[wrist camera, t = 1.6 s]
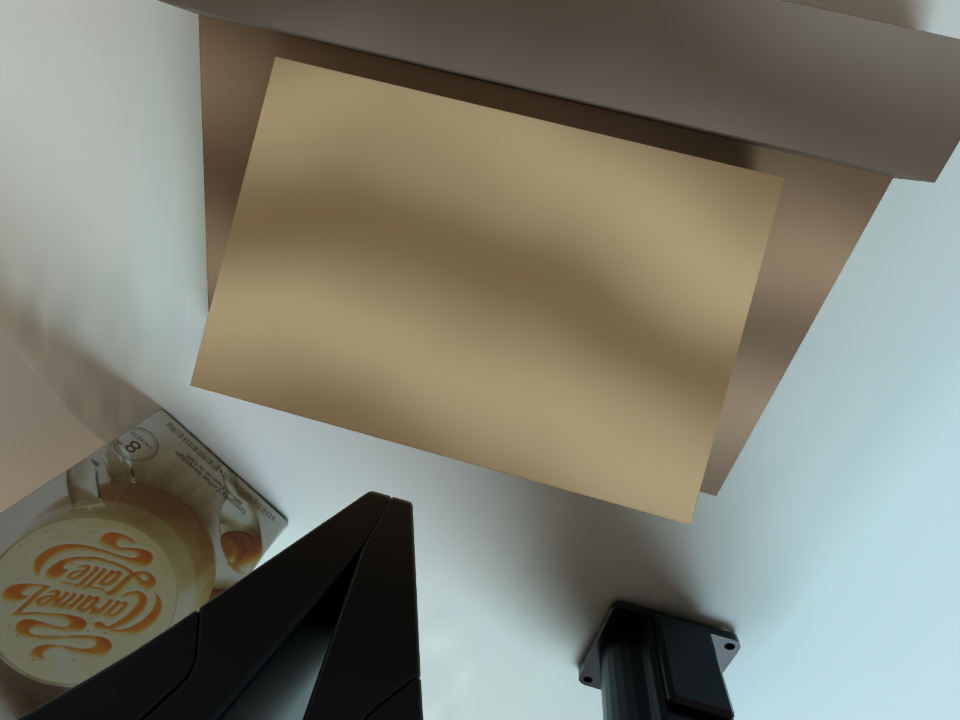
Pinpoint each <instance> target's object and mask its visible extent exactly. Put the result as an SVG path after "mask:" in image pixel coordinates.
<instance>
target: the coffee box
mask: <svg viewBox="0 0 960 720" xmlns="http://www.w3.org/2000/svg"><path fill="white" fill-rule="evenodd" d="M287 527H288V523H287V521H286V520H285V519H284V518H283V517H282V516H281V515H279V514H278V513H277V512H276V511H275V510H274V509H273V508H272V507H271V506H270V505H268V504H267V503H266V502H265V501H264V500H263V499H262V498H261V497H260V496H258V495H257V494H256V493H255V492H254V491H253V490H252V489H251V488H250V487H248V486H247V485H246V484H245V483H244V482H243V481H242V480H241V479H239V478H238V477H237V476H236V475H235V474H234V473H233V472H232V471H230V470H229V469H228V468H227V467H226V466H225V465H224V464H223V463H222V462H220V461H219V460H218V459H217V458H216V457H215V456H214V455H213V454H212V453H211V452H209V451H208V450H207V449H206V448H205V447H204V446H203V445H202V444H201V443H200V442H198V441H197V440H196V439H195V438H194V437H193V436H192V435H191V434H189V433H188V432H187V431H186V430H185V429H184V428H183V427H182V426H181V425H179V424H178V423H177V422H176V421H175V420H174V419H173V418H172V417H170V416H169V415H168V414H167V413H166V412H164V411H163V410H159V411H157V412H155V413H154V414H153V415H151V416H150V417H148V418H147V419H145V420H143V421H142V422H140V423H139V424H137V425H136V426H134V427H133V428H131V429H130V430H128V431H127V432H125V433H124V434H122V435H121V436H119V437H118V438H116V439H114V440H113V441H111V442H110V443H108V444H106V445H105V446H103V447H102V448H100V449H99V450H97V451H95V452H94V453H92V454H91V455H89V456H88V457H86V458H85V459H83V460H82V461H80V462H79V463H77V464H76V465H74V466H72V467H71V468H69V469H68V470H66V471H65V472H63V473H61V474H60V475H58V476H57V477H55V478H54V479H52V480H50V481H49V482H47V483H46V484H44V485H43V486H41V487H40V488H38V489H37V490H35V491H33V492H32V493H30V494H29V495H28V496H26V497H24V498H23V499H21V500H20V501H18V502H17V503H15V504H14V505H12V506H11V507H9V508H7V509H6V510H4V511H3V512H1V513H0V720H17V719H18V718H20V717H22V716H24V715H25V714H27V713H29V712H31V711H32V710H34V709H36V708H38V707H39V706H41V705H43V704H45V703H46V702H48V701H50V700H52V699H53V698H55V697H57V696H59V695H60V694H62V693H64V692H66V691H67V690H69V689H71V688H73V687H74V686H76V685H78V684H79V683H81V682H83V681H85V680H86V679H88V678H90V677H91V676H93V675H95V674H96V673H98V672H100V671H101V670H103V669H105V668H106V667H108V666H110V665H112V664H113V663H115V662H117V661H118V660H120V659H122V658H123V657H125V656H127V655H128V654H130V653H132V652H133V651H135V650H136V649H138V648H139V647H141V646H142V645H144V644H145V643H147V642H148V641H150V640H152V639H153V638H155V637H156V636H158V635H159V634H161V633H162V632H164V631H165V630H167V629H168V628H170V627H171V626H173V625H174V624H176V623H177V622H179V621H180V620H182V619H183V618H185V617H186V616H188V615H189V614H190V613H192V612H193V611H198V612H199V609H200V607H201V606H203V605H204V604H205V603H207V602H208V601H210V600H211V599H213V598H214V597H216V596H217V595H219V594H220V593H222V592H223V591H224V590H226V589H227V588H229V587H230V586H232V585H233V584H235V583H236V582H238V581H239V580H241V579H242V578H243V577H245V576H246V575H248V574H249V573H251V572H252V571H253V569H254V568H255V567H256V565H257V564H258V562H259V561H260V560H261V558H262V557H263V556H264V554H265V553H266V552H267V550H268V549H269V548H270V546H271V545H272V544H273V543H274V541H275V540H276V539H277V538H278V536H279V535H280V534H281V533H282V532H283V531H284V530H285V529H286V528H287Z"/></svg>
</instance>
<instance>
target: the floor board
mask: <svg viewBox="0 0 960 720" xmlns="http://www.w3.org/2000/svg"><path fill="white" fill-rule="evenodd" d="M159 1H162V2H164V3H167V4H170V5H173V6H176V7H179V8H182V9H185V10H188V11H190V12H193V13H196V14H199V39H200V68H201V98H202V128H203V158H204V187H205V217H206V247H207V277H208V306H209V311H210V307H211V303H212V299H213V295H214V291H215V288H216V284H217V280H218V276H219V272H220V268H221V264H222V261H223V257H224V253H225V249H226V245H227V241H228V237H229V234H230V230H231V226H232V222H233V218H234V214H235V211H236V207H237V203H238V199H239V195H240V191H241V187H242V184H243V180H244V176H245V172H246V168H247V164H248V160H249V157H250V153H251V149H252V145H253V141H254V137H255V134H256V130H257V126H258V122H259V118H260V114H261V110H262V107H263V103H264V99H265V95H266V91H267V87H268V83H269V80H270V76H271V72H272V68H273V64H274V60H275V57H279V58H283V59H287V60H291V61H296V62H300V63H304V64H308V65H312V66H317V67H321V68H325V69H329V70H333V71H338V72H342V73H346V74H350V75H354V76H359V77H363V78H367V79H371V80H375V81H380V82H384V83H388V84H392V85H396V86H401V87H405V88H409V89H413V90H417V91H422V92H426V93H430V94H434V95H438V96H443V97H447V98H451V99H455V100H459V101H464V102H468V103H472V104H476V105H480V106H485V107H489V108H493V109H497V110H501V111H506V112H510V113H514V114H518V115H522V116H527V117H531V118H535V119H539V120H543V121H548V122H552V123H556V124H560V125H564V126H569V127H573V128H577V129H581V130H585V131H590V132H594V133H598V134H602V135H606V136H611V137H615V138H619V139H623V140H627V141H632V142H636V143H640V144H644V145H648V146H652V147H657V148H661V149H665V150H669V151H673V152H678V153H682V154H686V155H690V156H694V157H699V158H703V159H707V160H711V161H715V162H720V163H724V164H728V165H732V166H736V167H741V168H745V169H749V170H753V171H757V172H762V173H766V174H770V175H774V176H778V177H783V178H785V179H784V183H783V186H782V190H781V194H780V197H779V201H778V205H777V208H776V212H775V216H774V219H773V223H772V227H771V230H770V234H769V238H768V241H767V245H766V249H765V252H764V256H763V260H762V263H761V267H760V271H759V274H758V278H757V282H756V286H755V289H754V293H753V297H752V300H751V304H750V308H749V311H748V315H747V319H746V322H745V326H744V330H743V333H742V337H741V341H740V344H739V348H738V352H737V355H736V359H735V363H734V366H733V370H732V374H731V377H730V381H729V385H728V388H727V392H726V396H725V399H724V403H723V407H722V410H721V414H720V418H719V421H718V425H717V429H716V432H715V436H714V440H713V443H712V447H711V451H710V455H709V458H708V462H707V466H706V469H705V473H704V477H703V480H702V484H701V488H700V492H704V493H708V494H711V495H715V496H716V495H717V494H718V492H719V490H720V488H721V486H722V485H723V483H724V481H725V479H726V477H727V476H728V474H729V472H730V470H731V468H732V467H733V465H734V463H735V461H736V459H737V458H738V456H739V454H740V452H741V450H742V449H743V447H744V445H745V443H746V441H747V440H748V438H749V436H750V434H751V432H752V431H753V429H754V427H755V425H756V423H757V422H758V420H759V418H760V416H761V414H762V413H763V411H764V409H765V407H766V405H767V404H768V402H769V400H770V398H771V396H772V395H773V393H774V391H775V389H776V387H777V386H778V384H779V382H780V380H781V378H782V377H783V375H784V373H785V371H786V369H787V368H788V366H789V364H790V362H791V361H792V359H793V357H794V355H795V353H796V352H797V350H798V348H799V346H800V344H801V343H802V341H803V339H804V337H805V335H806V334H807V332H808V330H809V328H810V326H811V325H812V323H813V321H814V319H815V317H816V316H817V314H818V312H819V310H820V308H821V307H822V305H823V303H824V301H825V299H826V298H827V296H828V294H829V292H830V290H831V289H832V287H833V285H834V283H835V281H836V280H837V278H838V276H839V274H840V272H841V271H842V269H843V267H844V265H845V263H846V262H847V260H848V258H849V256H850V254H851V253H852V251H853V249H854V247H855V245H856V244H857V242H858V240H859V238H860V236H861V235H862V233H863V231H864V229H865V227H866V226H867V224H868V222H869V220H870V218H871V217H872V215H873V213H874V211H875V209H876V208H877V206H878V204H879V202H880V200H881V199H882V197H883V195H884V193H885V192H886V190H887V188H888V186H889V184H890V183H891V181H892V179H893V178H899V179H908V180H917V181H926V182H935V181H936V180H937V178H938V176H939V175H940V173H941V171H942V170H943V168H944V166H945V164H946V163H947V161H948V159H949V158H950V156H951V154H952V153H953V151H954V149H955V148H956V146H957V144H958V143H959V141H960V39H956V38H952V37H947V36H943V35H938V34H934V33H929V32H924V31H920V30H915V29H911V28H906V27H902V26H897V25H892V24H888V23H883V22H879V21H874V20H870V19H865V18H860V17H856V16H851V15H847V14H842V13H838V12H833V11H829V10H824V9H819V8H815V7H810V6H806V5H801V4H797V3H792V2H787V1H783V0H159Z"/></svg>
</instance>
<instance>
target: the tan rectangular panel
mask: <svg viewBox="0 0 960 720" xmlns="http://www.w3.org/2000/svg"><path fill="white" fill-rule="evenodd" d="M784 179H785V178H783V177H778V176H774V175H770V174H766V173H762V172H757V171H753V170H749V169H745V168H741V167H736V166H732V165H728V164H724V163H720V162H715V161H711V160H707V159H703V158H699V157H694V156H690V155H686V154H682V153H678V152H673V151H669V150H665V149H661V148H657V147H652V146H648V145H644V144H640V143H636V142H632V141H627V140H623V139H619V138H615V137H611V136H606V135H602V134H598V133H594V132H590V131H585V130H581V129H577V128H573V127H569V126H564V125H560V124H556V123H552V122H548V121H543V120H539V119H535V118H531V117H527V116H522V115H518V114H514V113H510V112H506V111H501V110H497V109H493V108H489V107H485V106H480V105H476V104H472V103H468V102H464V101H459V100H455V99H451V98H447V97H443V96H438V95H434V94H430V93H426V92H422V91H417V90H413V89H409V88H405V87H401V86H396V85H392V84H388V83H384V82H380V81H375V80H371V79H367V78H363V77H359V76H354V75H350V74H346V73H342V72H338V71H333V70H329V69H325V68H321V67H317V66H312V65H308V64H304V63H300V62H296V61H291V60H287V59H283V58H279V57H275V60H274V64H273V68H272V72H271V76H270V80H269V83H268V87H267V91H266V95H265V99H264V103H263V107H262V110H261V114H260V118H259V122H258V126H257V130H256V134H255V137H254V141H253V145H252V149H251V153H250V157H249V160H248V164H247V168H246V172H245V176H244V180H243V184H242V187H241V191H240V195H239V199H238V203H237V207H236V211H235V214H234V218H233V222H232V226H231V230H230V234H229V237H228V241H227V245H226V249H225V253H224V257H223V261H222V264H221V268H220V272H219V276H218V280H217V284H216V288H215V291H214V295H213V299H212V303H211V307H210V311H209V315H208V318H207V322H206V326H205V330H204V334H203V338H202V341H201V345H200V349H199V353H198V357H197V361H196V365H195V368H194V372H193V376H192V380H191V384H190V385H191V386H195V387H198V388H202V389H205V390H209V391H213V392H216V393H220V394H223V395H227V396H230V397H234V398H238V399H241V400H245V401H248V402H252V403H256V404H259V405H263V406H266V407H270V408H273V409H277V410H281V411H284V412H288V413H291V414H295V415H299V416H302V417H306V418H309V419H313V420H317V421H320V422H324V423H327V424H331V425H334V426H338V427H342V428H345V429H349V430H352V431H356V432H360V433H363V434H367V435H370V436H374V437H377V438H381V439H385V440H388V441H392V442H395V443H399V444H403V445H406V446H410V447H413V448H417V449H421V450H424V451H428V452H431V453H435V454H438V455H442V456H446V457H449V458H453V459H456V460H460V461H464V462H467V463H471V464H474V465H478V466H482V467H485V468H489V469H492V470H496V471H499V472H503V473H507V474H510V475H514V476H517V477H521V478H525V479H528V480H532V481H535V482H539V483H542V484H546V485H550V486H553V487H557V488H560V489H564V490H568V491H571V492H575V493H578V494H582V495H586V496H589V497H593V498H596V499H600V500H603V501H607V502H611V503H614V504H618V505H621V506H625V507H629V508H632V509H636V510H639V511H643V512H646V513H650V514H654V515H657V516H661V517H664V518H668V519H672V520H675V521H679V522H682V523H686V524H691V521H692V517H693V513H694V510H695V506H696V502H697V499H698V495H699V491H700V488H701V484H702V480H703V477H704V473H705V469H706V466H707V462H708V458H709V455H710V451H711V447H712V443H713V440H714V436H715V432H716V429H717V425H718V421H719V418H720V414H721V410H722V407H723V403H724V399H725V396H726V392H727V388H728V385H729V381H730V377H731V374H732V370H733V366H734V363H735V359H736V355H737V352H738V348H739V344H740V341H741V337H742V333H743V330H744V326H745V322H746V319H747V315H748V311H749V308H750V304H751V300H752V297H753V293H754V289H755V286H756V282H757V278H758V274H759V271H760V267H761V263H762V260H763V256H764V252H765V249H766V245H767V241H768V238H769V234H770V230H771V227H772V223H773V219H774V216H775V212H776V208H777V205H778V201H779V197H780V194H781V190H782V186H783V183H784Z"/></svg>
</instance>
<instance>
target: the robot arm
mask: <svg viewBox="0 0 960 720" xmlns="http://www.w3.org/2000/svg"><path fill="white" fill-rule="evenodd" d="M620 611H622V612H620ZM739 649H740V643H739V640H738V638H737V636H736V635H735V634H733V633H730V632H727V631H723V630H720V629H717V628H713V627H710V626H706V625H703V624H699V623H696V622H692V621H689V620H685V619H682V618H679V617H675V616H672V615H668V614H665V613H661V612H658V611H654V610H651V609H647V608H644V607H640V606H637V605H634V604H630V603H627V602H623V601H617V602H614V603H613V604H612V605H611V606H610V608H609V610H608V613H607V615H606V617H605V619H604V621H603V623H602V625H601V627H600V629H599V631H598V633H597V635H596V637H595V639H594V641H593V643H592V645H591V647H590V649H589V651H588V653H587V655H586V657H585V659H584V661H583V663H582V665H581V667H580V669H579V681H580V682H581V683H582V684H584V685H587V686H590V687H594V688H597V689H600V690H601V692H602V707H603V720H734V719H733V718H734V711H733V708H732V704H731V701H730V697H729V694H728V691H727V687H726V684H725V681H724V677H723V674H722V673H723V672H724V671H725V669H726V668H727V666H728V665H729V664H730V662H731V661H732V659H733V658H734V657H735V655H736V654H737V652H738V651H739ZM17 720H423V710H422V691H421V680H420V653H419V632H418V610H417V589H416V568H415V546H414V525H413V506H412V503H411V502H409V501H405V500H402V499H398V498H395V497H393V498H391V497H390V496H388V495H384V494H381V493H377V492H374V491H371V492H368V493H366V494H365V495H363V496H362V497H360V498H359V499H358V500H356V501H355V502H353V503H352V504H350V505H349V506H347V507H346V508H344V509H343V510H341V511H340V512H339V513H337V514H336V515H334V516H333V517H331V518H330V519H328V520H327V521H325V522H324V523H322V524H321V525H320V526H318V527H317V528H315V529H314V530H312V531H311V532H309V533H308V534H306V535H305V536H303V537H302V538H301V539H299V540H298V541H296V542H295V543H293V544H292V545H290V546H289V547H287V548H286V549H284V550H283V551H281V552H280V553H279V554H277V555H276V556H274V557H273V558H271V559H270V560H268V561H267V562H265V563H264V564H262V565H261V566H260V567H258V568H257V569H255V570H254V571H252V572H251V573H249V574H248V575H246V576H245V577H243V578H242V579H241V580H239V581H238V582H236V583H235V584H233V585H232V586H230V587H229V588H227V589H226V590H224V591H223V592H222V593H220V594H219V595H217V596H216V597H214V598H213V599H211V600H210V601H208V602H207V603H205V604H204V605H203V606H201V607H200V609H199V612H198V611H193V612H192V613H190V614H189V615H188V616H186V617H185V618H183V619H182V620H180V621H179V622H177V623H176V624H174V625H173V626H171V627H170V628H168V629H167V630H165V631H164V632H162V633H161V634H159V635H158V636H156V637H155V638H153V639H152V640H150V641H148V642H147V643H145V644H144V645H142V646H141V647H139V648H138V649H136V650H135V651H133V652H132V653H130V654H128V655H127V656H125V657H123V658H122V659H120V660H118V661H117V662H115V663H113V664H112V665H110V666H108V667H106V668H105V669H103V670H101V671H100V672H98V673H96V674H95V675H93V676H91V677H90V678H88V679H86V680H85V681H83V682H81V683H79V684H78V685H76V686H74V687H73V688H71V689H69V690H67V691H66V692H64V693H62V694H60V695H59V696H57V697H55V698H53V699H52V700H50V701H48V702H46V703H45V704H43V705H41V706H39V707H38V708H36V709H34V710H32V711H31V712H29V713H27V714H25V715H24V716H22V717H20V718H18V719H17Z"/></svg>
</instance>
